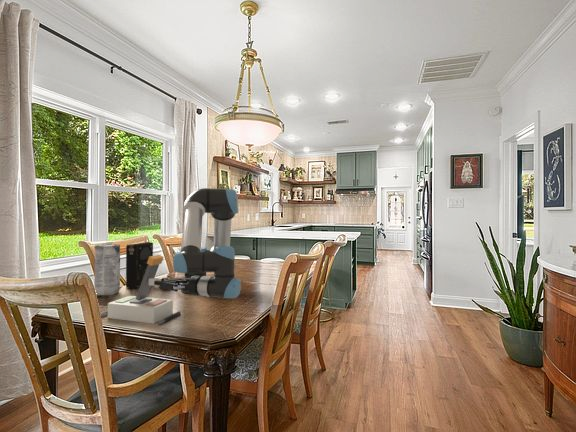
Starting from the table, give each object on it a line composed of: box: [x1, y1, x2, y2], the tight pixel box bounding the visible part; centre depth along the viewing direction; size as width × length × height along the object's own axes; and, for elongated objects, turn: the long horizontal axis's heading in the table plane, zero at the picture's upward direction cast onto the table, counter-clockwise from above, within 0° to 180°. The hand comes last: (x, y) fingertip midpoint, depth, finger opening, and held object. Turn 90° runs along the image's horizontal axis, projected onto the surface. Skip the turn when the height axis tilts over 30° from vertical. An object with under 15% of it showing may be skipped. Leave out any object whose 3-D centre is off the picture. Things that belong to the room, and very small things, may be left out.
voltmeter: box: [125, 241, 154, 290], centre depth 182 cm, size 16×9×25 cm, turn 168°
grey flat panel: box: [100, 310, 181, 326], centre depth 131 cm, size 29×13×1 cm, turn 75°
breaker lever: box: [136, 254, 164, 301], centre depth 129 cm, size 2×6×19 cm, turn 165°
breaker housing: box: [107, 295, 174, 324], centre depth 130 cm, size 22×12×7 cm, turn 75°
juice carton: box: [94, 241, 121, 296], centre depth 164 cm, size 9×10×27 cm
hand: (149, 281), depth 128 cm, fingers closed
